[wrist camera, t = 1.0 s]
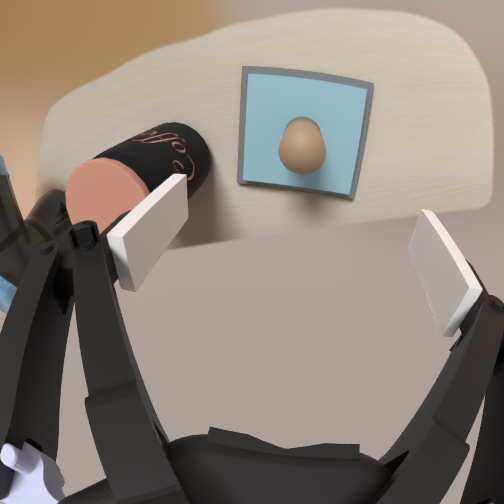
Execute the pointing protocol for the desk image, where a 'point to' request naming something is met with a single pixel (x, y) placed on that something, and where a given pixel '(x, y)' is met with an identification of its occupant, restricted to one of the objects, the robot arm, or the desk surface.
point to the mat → (306, 75)
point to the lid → (302, 132)
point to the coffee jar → (135, 172)
